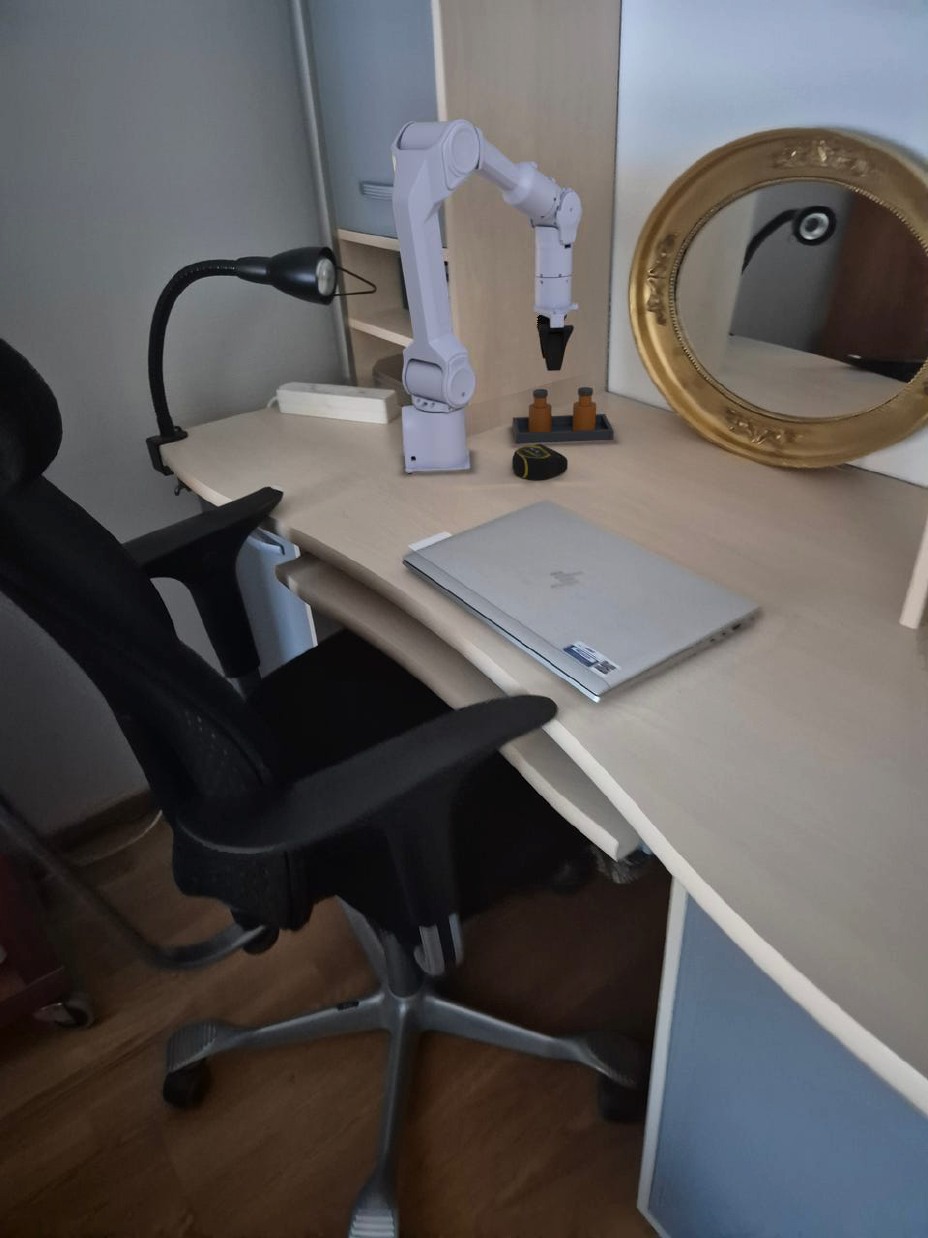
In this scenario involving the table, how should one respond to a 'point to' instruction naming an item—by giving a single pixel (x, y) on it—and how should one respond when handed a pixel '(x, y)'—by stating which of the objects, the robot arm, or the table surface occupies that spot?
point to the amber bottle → (584, 410)
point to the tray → (562, 430)
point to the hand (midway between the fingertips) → (551, 363)
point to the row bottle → (540, 412)
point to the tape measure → (538, 462)
